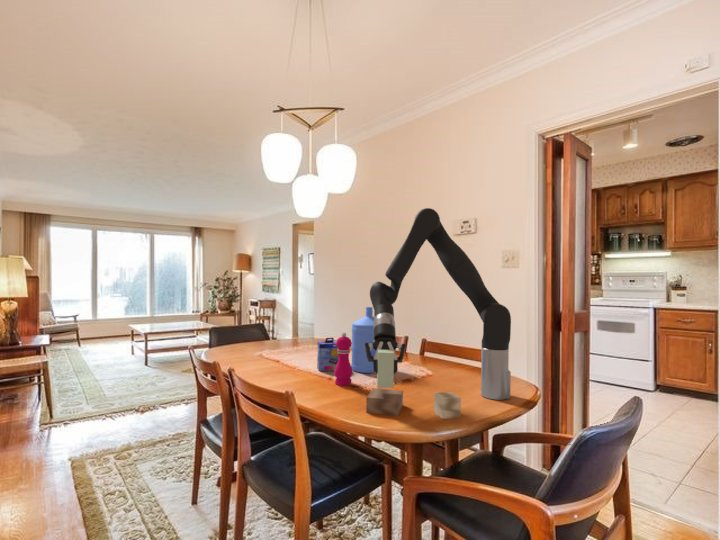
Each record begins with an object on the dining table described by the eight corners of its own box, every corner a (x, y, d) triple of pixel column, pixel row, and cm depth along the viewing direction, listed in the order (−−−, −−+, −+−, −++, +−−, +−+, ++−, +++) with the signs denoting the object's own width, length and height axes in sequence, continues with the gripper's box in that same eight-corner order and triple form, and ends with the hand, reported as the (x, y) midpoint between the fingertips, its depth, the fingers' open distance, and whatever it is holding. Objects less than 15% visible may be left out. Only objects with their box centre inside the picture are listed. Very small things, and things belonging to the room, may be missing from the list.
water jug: (346, 371, 168) (347, 308, 168) (357, 364, 183) (358, 305, 183) (380, 375, 163) (381, 309, 163) (389, 367, 178) (390, 306, 178)
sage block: (392, 383, 126) (392, 349, 126) (393, 387, 121) (394, 352, 121) (376, 382, 126) (377, 349, 126) (377, 387, 121) (378, 352, 121)
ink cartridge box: (318, 371, 168) (319, 338, 168) (316, 368, 173) (316, 336, 174) (340, 370, 171) (341, 337, 171) (337, 367, 176) (338, 335, 177)
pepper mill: (336, 386, 146) (336, 334, 146) (332, 381, 153) (333, 331, 153) (354, 385, 148) (355, 333, 148) (350, 380, 155) (350, 331, 155)
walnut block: (402, 406, 127) (402, 390, 127) (398, 416, 117) (398, 400, 117) (373, 403, 129) (373, 388, 129) (366, 413, 119) (366, 397, 119)
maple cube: (451, 410, 122) (451, 391, 122) (460, 417, 116) (460, 397, 116) (433, 412, 121) (434, 393, 121) (442, 419, 115) (442, 399, 115)
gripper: (364, 321, 131) (363, 365, 119) (406, 322, 131) (409, 366, 118) (363, 334, 136) (362, 378, 124) (404, 335, 136) (407, 379, 124)
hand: (385, 372), depth 121 cm, fingers closed on sage block, 5 cm apart
